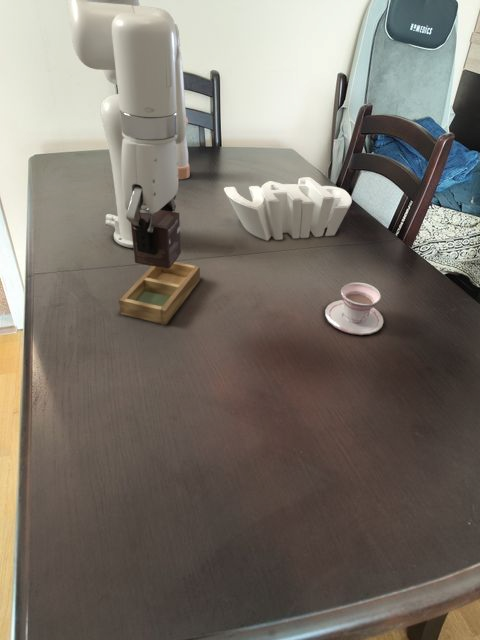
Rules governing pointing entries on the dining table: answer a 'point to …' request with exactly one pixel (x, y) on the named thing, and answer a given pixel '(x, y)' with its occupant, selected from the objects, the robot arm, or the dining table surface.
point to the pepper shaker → (183, 158)
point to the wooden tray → (160, 292)
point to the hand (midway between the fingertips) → (157, 241)
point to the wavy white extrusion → (291, 209)
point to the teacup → (356, 310)
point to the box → (161, 240)
